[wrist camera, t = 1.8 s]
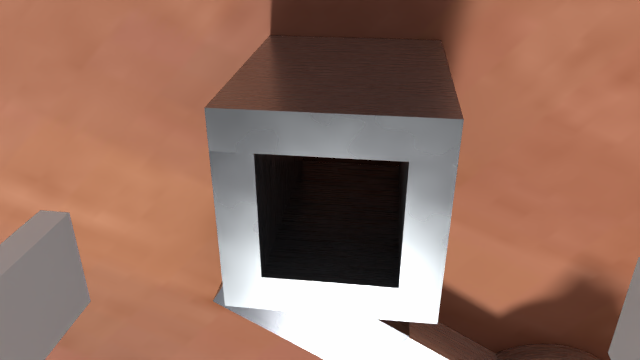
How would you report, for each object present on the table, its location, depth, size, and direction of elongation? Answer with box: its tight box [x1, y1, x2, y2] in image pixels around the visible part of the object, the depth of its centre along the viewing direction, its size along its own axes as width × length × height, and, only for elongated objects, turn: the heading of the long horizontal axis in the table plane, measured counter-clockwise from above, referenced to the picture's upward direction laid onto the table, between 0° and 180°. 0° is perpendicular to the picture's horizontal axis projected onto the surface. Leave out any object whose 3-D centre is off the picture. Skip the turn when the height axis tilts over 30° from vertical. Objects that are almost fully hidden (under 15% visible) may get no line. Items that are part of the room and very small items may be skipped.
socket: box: [205, 35, 464, 324], centre depth 19 cm, size 6×6×8 cm
